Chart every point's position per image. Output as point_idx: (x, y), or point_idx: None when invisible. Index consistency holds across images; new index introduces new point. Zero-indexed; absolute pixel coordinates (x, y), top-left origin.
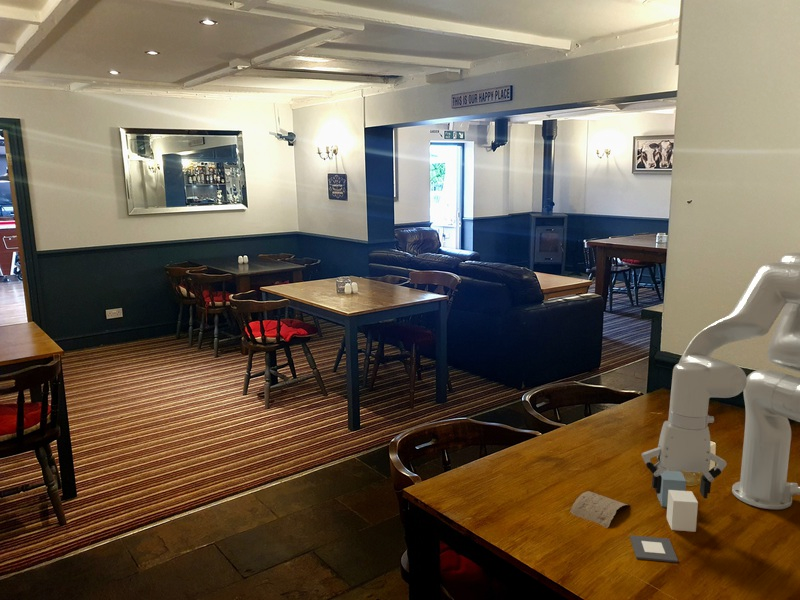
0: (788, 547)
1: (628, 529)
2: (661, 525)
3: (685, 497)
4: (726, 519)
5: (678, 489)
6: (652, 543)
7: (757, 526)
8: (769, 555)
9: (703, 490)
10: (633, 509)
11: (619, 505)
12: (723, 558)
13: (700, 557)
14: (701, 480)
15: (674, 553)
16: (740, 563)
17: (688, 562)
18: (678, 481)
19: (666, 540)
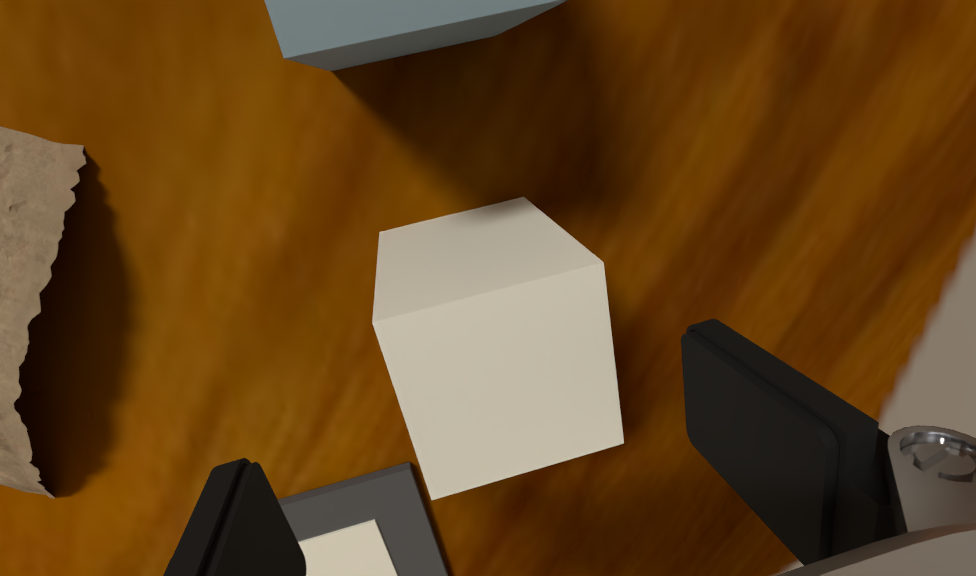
0: (934, 285)
1: (180, 456)
2: (358, 336)
3: (533, 403)
4: (743, 100)
5: (467, 28)
6: (334, 545)
7: (886, 123)
8: (826, 384)
9: (727, 461)
10: (131, 201)
11: (4, 331)
12: (636, 485)
13: (545, 520)
14: (779, 422)
15: (439, 564)
16: (693, 488)
17: (494, 570)
18: (477, 20)
19: (398, 488)
